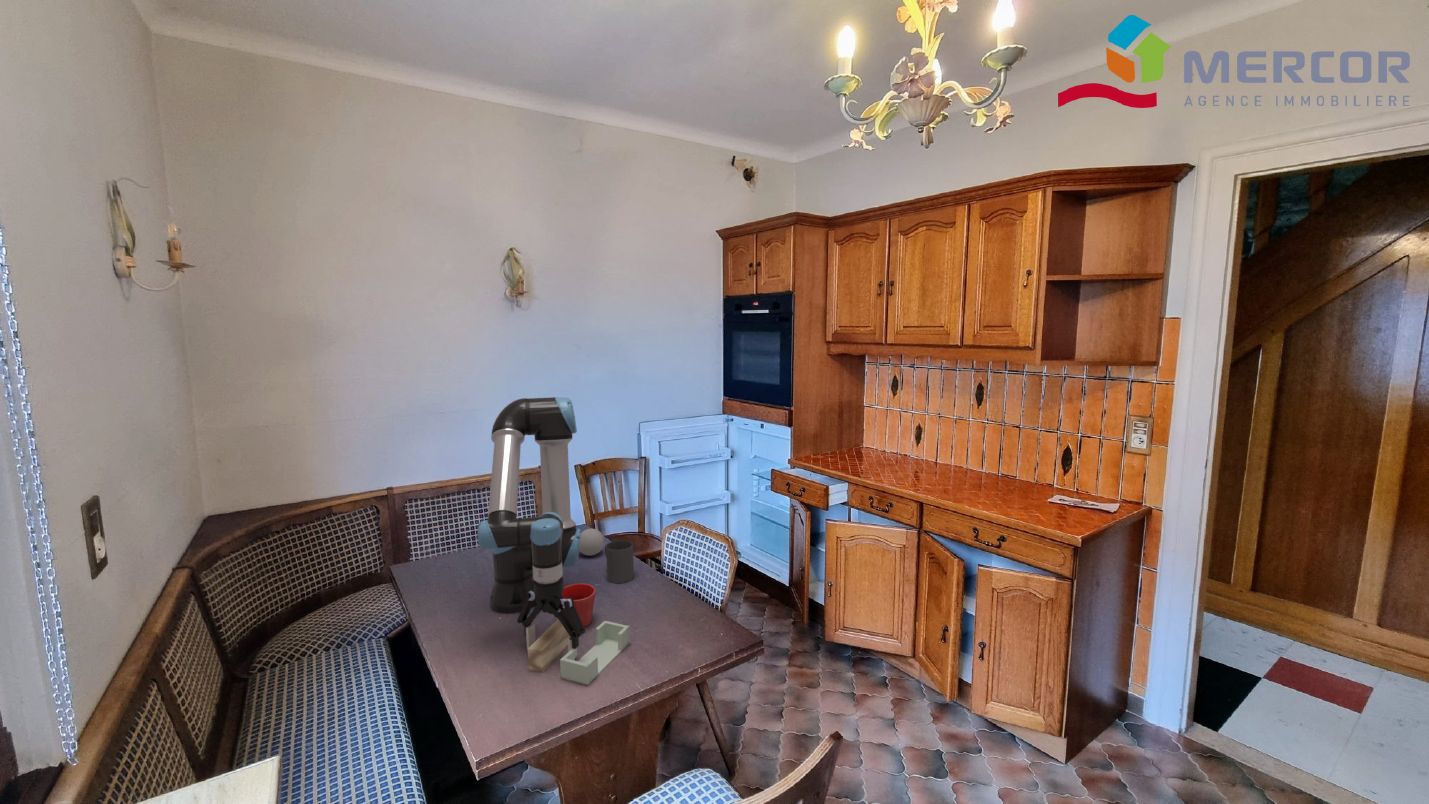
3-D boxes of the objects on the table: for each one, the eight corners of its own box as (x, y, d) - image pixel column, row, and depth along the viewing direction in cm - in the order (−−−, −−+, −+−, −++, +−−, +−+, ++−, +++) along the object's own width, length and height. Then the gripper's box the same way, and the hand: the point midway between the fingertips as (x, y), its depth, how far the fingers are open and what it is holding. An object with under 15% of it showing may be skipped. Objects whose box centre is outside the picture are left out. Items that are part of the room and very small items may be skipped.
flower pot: (603, 616, 173) (602, 585, 172) (583, 634, 163) (582, 602, 162) (573, 610, 177) (571, 580, 176) (552, 628, 167) (550, 597, 165)
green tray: (560, 678, 144) (560, 659, 143) (605, 637, 162) (604, 620, 161) (587, 685, 141) (587, 666, 140) (629, 643, 159) (629, 626, 158)
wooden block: (528, 670, 147) (527, 648, 146) (560, 637, 163) (559, 617, 162) (542, 672, 146) (541, 651, 145) (573, 639, 162) (572, 619, 161)
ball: (609, 551, 221) (608, 527, 220) (594, 561, 212) (592, 536, 211) (588, 547, 225) (587, 523, 224) (572, 557, 216) (570, 532, 215)
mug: (639, 577, 199) (638, 544, 197) (616, 586, 193) (615, 552, 191) (617, 565, 209) (616, 534, 207) (595, 573, 203) (593, 541, 201)
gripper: (500, 576, 152) (505, 650, 155) (579, 592, 143) (582, 671, 146) (520, 565, 159) (524, 636, 162) (596, 580, 150) (599, 655, 153)
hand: (552, 653), depth 154 cm, fingers open, 13 cm apart
